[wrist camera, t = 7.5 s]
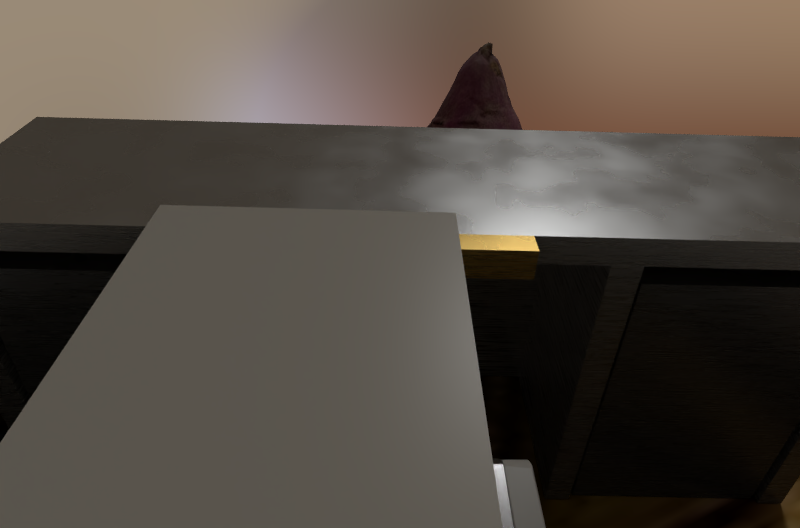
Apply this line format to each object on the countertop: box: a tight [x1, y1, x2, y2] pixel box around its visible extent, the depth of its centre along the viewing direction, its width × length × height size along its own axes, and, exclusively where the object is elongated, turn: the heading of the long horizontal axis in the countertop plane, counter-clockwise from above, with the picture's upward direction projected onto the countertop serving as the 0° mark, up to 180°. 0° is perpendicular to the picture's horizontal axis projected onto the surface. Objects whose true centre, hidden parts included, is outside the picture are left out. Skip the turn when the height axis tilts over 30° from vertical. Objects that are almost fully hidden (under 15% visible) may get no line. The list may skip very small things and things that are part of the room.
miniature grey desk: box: [0, 117, 800, 503], centre depth 24 cm, size 31×9×13 cm, turn 90°
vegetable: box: [428, 43, 522, 130], centre depth 36 cm, size 10×10×15 cm
